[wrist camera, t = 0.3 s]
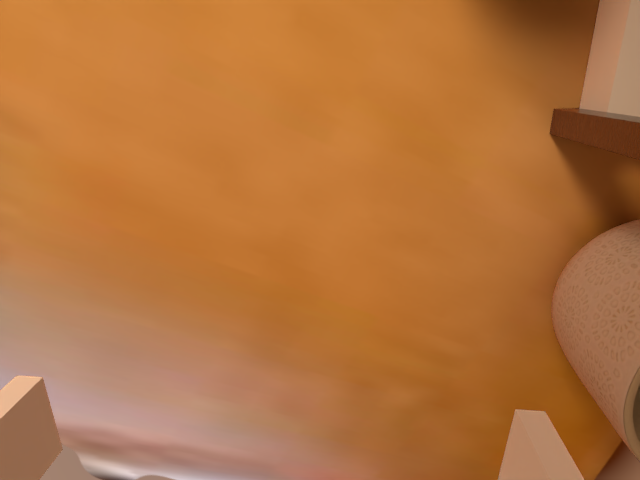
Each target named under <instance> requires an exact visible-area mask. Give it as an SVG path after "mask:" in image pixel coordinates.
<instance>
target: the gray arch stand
mask: <svg viewBox="0 0 640 480" xmlns="http://www.w3.org/2000/svg"><path fill="white" fill-rule="evenodd" d="M550 134H552V135H555V136H559V137H562V138H566V139H569V140H573V141H576V142H580V143H583V144H587V145H590V146H594V147H597V148H600V149H604V150H607V151H611V152H614V153H618V154H621V155H625V156H628V157H632V158H635V159H639V160H640V117H638V116H631V115H624V114H616V113H609V112H602V111H595V110H588V109H580V108H572V109H554V111H553V117H552V123H551V129H550Z"/></svg>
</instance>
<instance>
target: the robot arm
mask: <svg viewBox="0 0 640 480" xmlns="http://www.w3.org/2000/svg"><path fill="white" fill-rule="evenodd" d="M61 451H62V445H61V442H60V438H59V434H58V431H57V427H56V424H55V420H54V416H53V413H52V409H51V406H50V402H49V398H48V395H47V391H46V387H45V384H44V380H43V377H31V376H16V377H15V378H14V379H13V380H11V381H10V382H9V383H8V384H7V385H6V386H5V387H4V388H3V389H1V390H0V480H39V479H40V478H41V477H42V476H43V474H44V473H45V472H46V470H47V469H48V468H49V466H50V465H51V464H52V462H53V461H54V460H55V459H56V457H57V456H58V455H59V453H60V452H61ZM498 480H584V478H583V476H582V475H581V473H580V471H579V470H578V468H577V466H576V464H575V463H574V461H573V459H572V457H571V456H570V454H569V452H568V450H567V449H566V447H565V445H564V443H563V442H562V440H561V438H560V436H559V435H558V433H557V431H556V430H555V428H554V426H553V424H552V423H551V421H550V419H549V417H548V416H547V414H546V412H545V411H533V410H518V409H515V413H514V417H513V421H512V425H511V429H510V433H509V437H508V441H507V445H506V449H505V453H504V457H503V461H502V465H501V469H500V473H499V477H498Z"/></svg>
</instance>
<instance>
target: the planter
mask: <svg viewBox="0 0 640 480" xmlns="http://www.w3.org/2000/svg"><path fill="white" fill-rule="evenodd" d="M551 314H552V322H553V327H554V331H555V334H556V337H557V340H558V342H559V344H560V346H561V348H562V350H563V352H564V354H565V356H566V358H567V360H568V361H569V363H570V365H571V366H572V368H573V369H574V371H575V372H576V374H577V376H578V377H579V379H580V380H581V381H582V383H583V384H584V386H585V387H586V389H587V390H588V392H589V393H590V394H591V396H592V397H593V399H594V400H595V401H596V403H597V404H598V406H599V407H600V409H601V410H602V412H603V413H604V414H605V416H606V417H607V419H608V420H609V422H610V423H611V424H612V426H613V427H614V429H615V430H616V432H617V433H618V434H619V436H620V437H621V439H622V440H623V441H624V443H625V444H626V445H627V447H628V448H629V449H630V451H631V452H632V453H633V454H634V456H635V457H636V458H637V459H638V460H639V462H640V219H639V220H635V221H631V222H628V223H625V224H622V225H619V226H617V227H614V228H612V229H610V230H608V231H606V232H604V233H602V234H600V235H599V236H597V237H595V238H594V239H592V240H591V241H590V242H588V243H587V244H586V245H585V246H583V247H582V248H581V249H580V250H579V251H578V252H577V253H576V254H575V255H574V256H573V257H572V258H571V260H570V261H569V262H568V263H567V265H566V266H565V268H564V269H563V271H562V273H561V275H560V277H559V279H558V281H557V283H556V286H555V289H554V293H553V298H552V308H551Z"/></svg>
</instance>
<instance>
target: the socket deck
mask: <svg viewBox="0 0 640 480" xmlns="http://www.w3.org/2000/svg"><path fill="white" fill-rule="evenodd" d="M579 108H580V109H588V110H595V111H602V112H609V113H616V114H624V115H631V116H638V117H640V0H600V2H599V7H598V12H597V17H596V23H595V28H594V33H593V39H592V44H591V49H590V54H589V60H588V65H587V70H586V76H585V81H584V86H583V91H582V97H581V102H580V107H579Z"/></svg>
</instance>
